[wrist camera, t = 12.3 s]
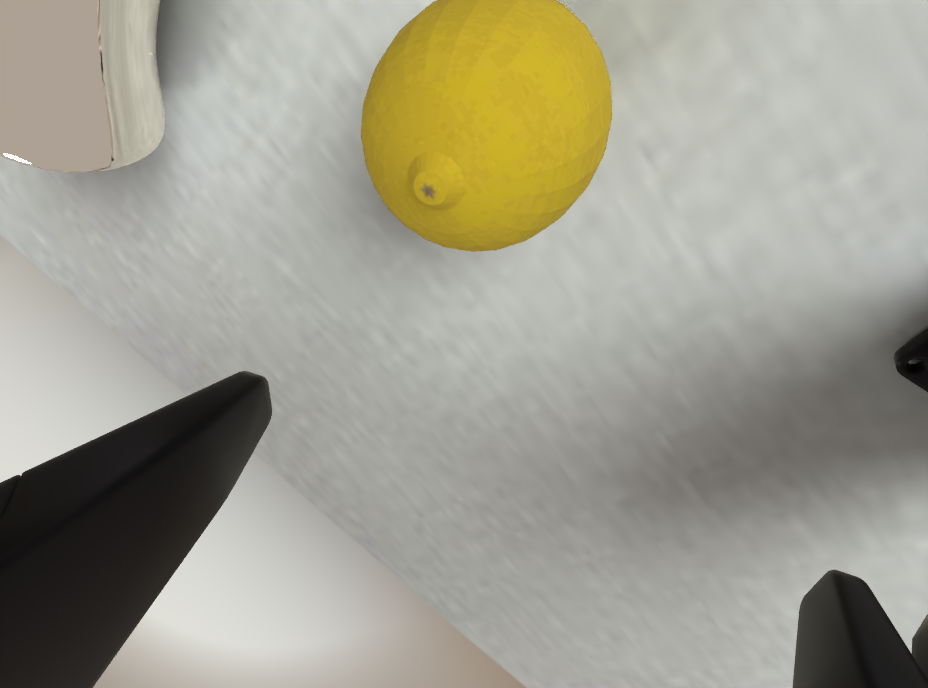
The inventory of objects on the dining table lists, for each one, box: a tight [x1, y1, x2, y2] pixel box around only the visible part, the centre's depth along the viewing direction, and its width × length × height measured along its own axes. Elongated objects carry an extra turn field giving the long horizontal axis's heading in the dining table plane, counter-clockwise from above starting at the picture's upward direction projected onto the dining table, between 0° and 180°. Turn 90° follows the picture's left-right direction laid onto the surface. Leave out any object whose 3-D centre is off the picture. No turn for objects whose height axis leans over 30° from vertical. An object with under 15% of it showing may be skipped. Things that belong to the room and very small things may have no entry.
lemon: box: [361, 0, 612, 251], centre depth 15 cm, size 6×6×8 cm
